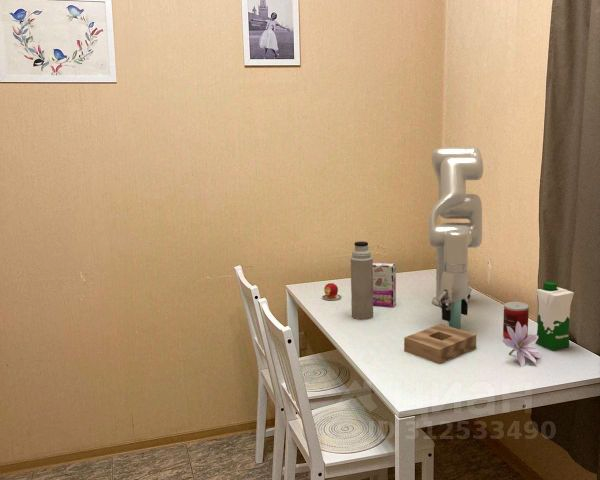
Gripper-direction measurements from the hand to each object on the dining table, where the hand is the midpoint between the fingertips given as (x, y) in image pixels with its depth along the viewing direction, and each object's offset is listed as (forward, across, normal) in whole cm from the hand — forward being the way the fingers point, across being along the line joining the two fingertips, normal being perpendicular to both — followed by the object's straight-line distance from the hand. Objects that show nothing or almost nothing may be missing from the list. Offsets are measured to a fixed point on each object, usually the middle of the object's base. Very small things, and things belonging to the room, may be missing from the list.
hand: (454, 317), depth 210 cm
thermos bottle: (+6, +10, -34) cm, 36 cm away
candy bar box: (+6, -5, -39) cm, 40 cm away
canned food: (+6, -11, +16) cm, 20 cm away
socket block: (+6, +15, +6) cm, 17 cm away
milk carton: (+6, -13, +28) cm, 31 cm away
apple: (+6, +3, -59) cm, 59 cm away
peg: (+6, 0, 0) cm, 6 cm away
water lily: (+6, +4, +28) cm, 29 cm away
